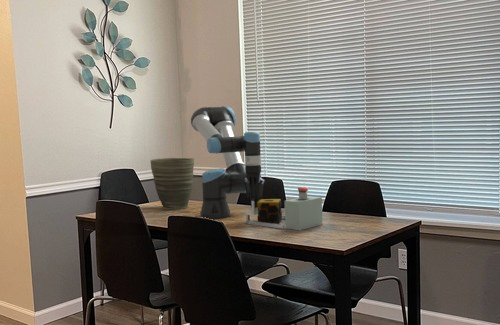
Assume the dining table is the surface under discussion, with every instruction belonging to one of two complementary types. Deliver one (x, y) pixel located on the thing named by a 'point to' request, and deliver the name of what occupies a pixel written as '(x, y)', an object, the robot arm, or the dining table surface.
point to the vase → (173, 181)
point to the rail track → (264, 223)
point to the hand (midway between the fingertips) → (255, 214)
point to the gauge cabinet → (303, 213)
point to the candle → (269, 211)
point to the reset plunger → (303, 193)
